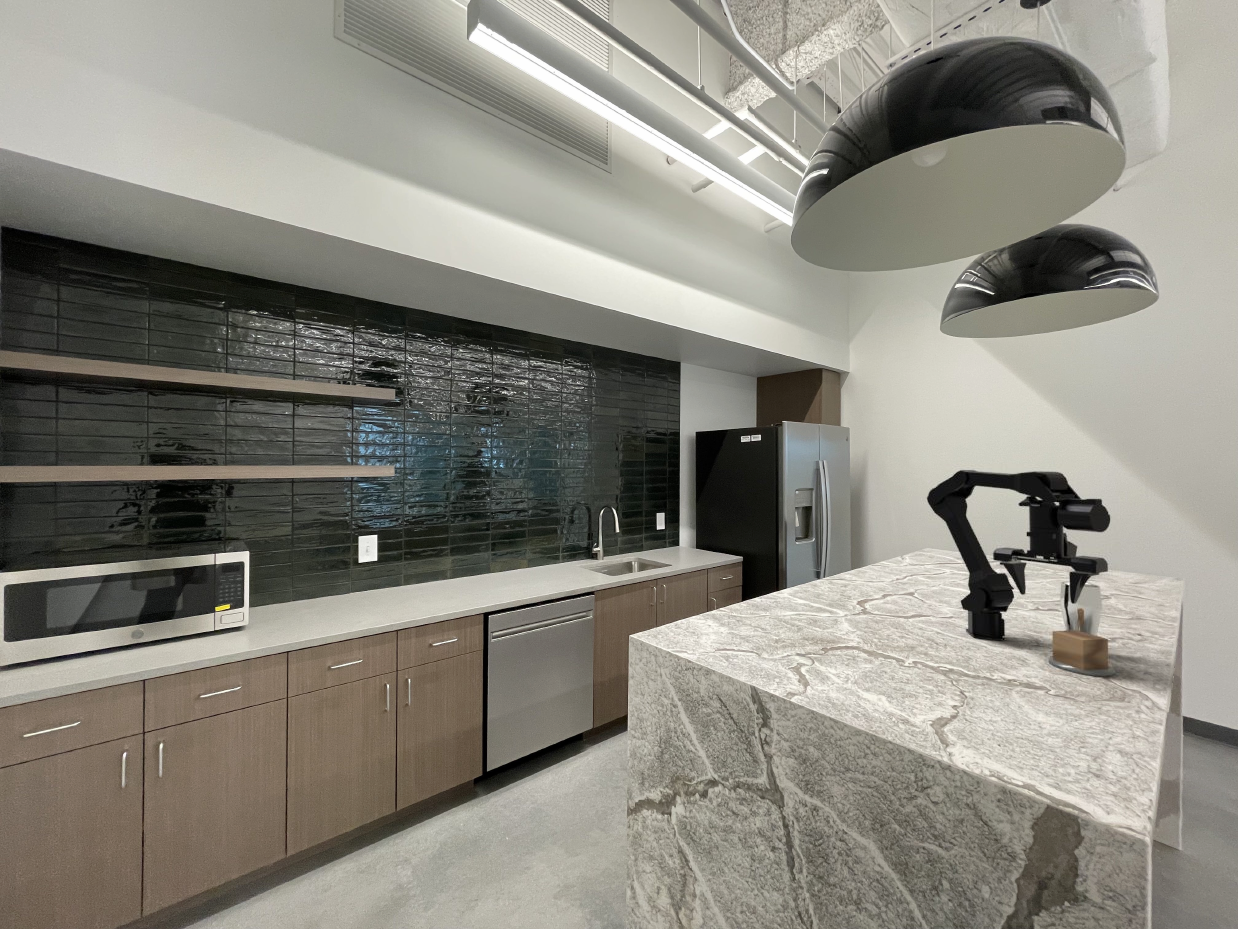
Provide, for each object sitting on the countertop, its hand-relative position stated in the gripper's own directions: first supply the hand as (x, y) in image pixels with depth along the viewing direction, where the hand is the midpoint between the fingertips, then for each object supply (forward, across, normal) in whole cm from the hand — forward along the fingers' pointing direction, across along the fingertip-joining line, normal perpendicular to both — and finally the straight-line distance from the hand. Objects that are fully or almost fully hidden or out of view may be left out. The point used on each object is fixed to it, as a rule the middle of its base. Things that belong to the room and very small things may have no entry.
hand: (1047, 598), depth 110 cm
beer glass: (+13, -1, -11) cm, 17 cm away
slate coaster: (+12, -6, +2) cm, 14 cm away
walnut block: (+12, -6, +2) cm, 14 cm away
